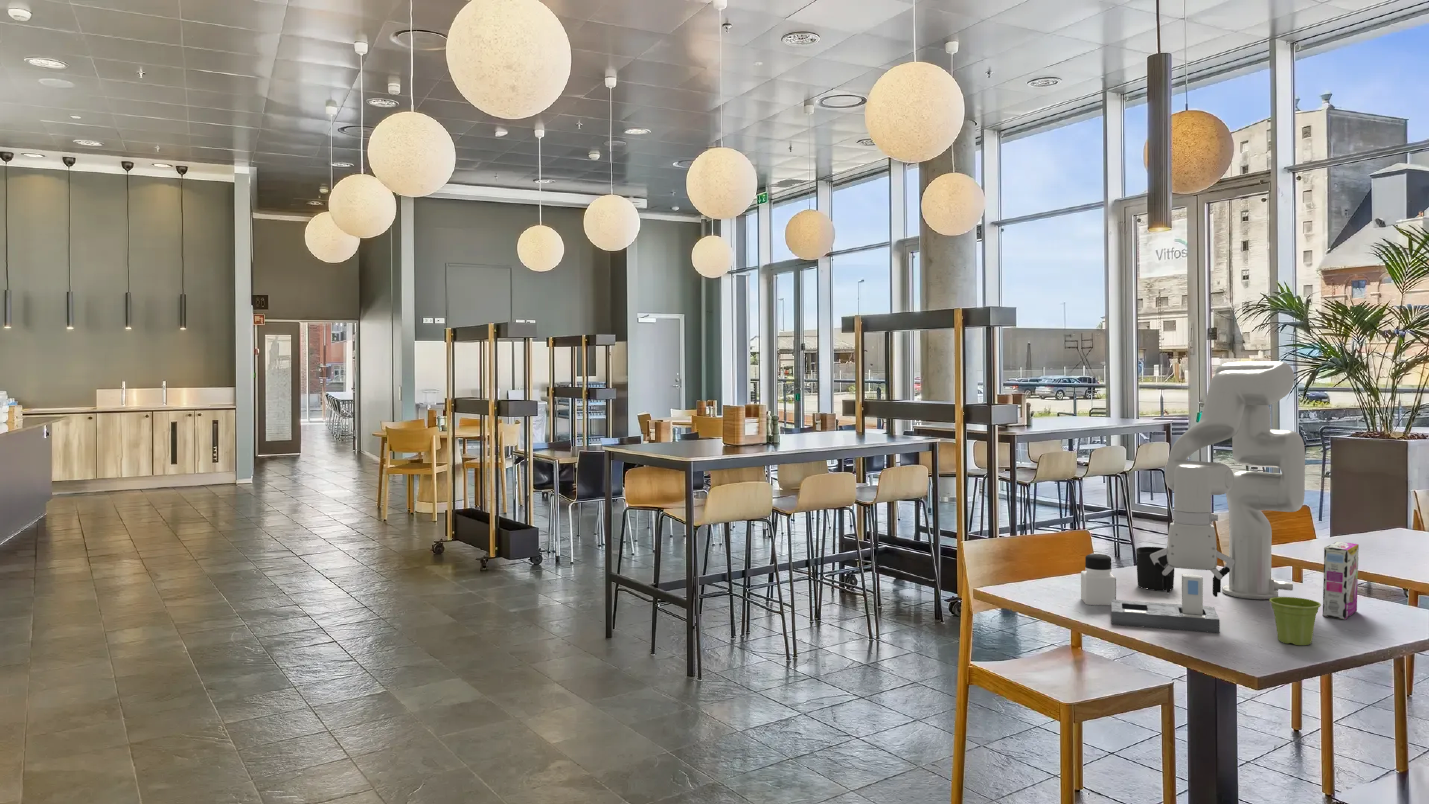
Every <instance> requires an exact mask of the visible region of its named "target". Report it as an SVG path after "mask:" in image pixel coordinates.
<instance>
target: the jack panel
mask: <svg viewBox="0 0 1429 804" xmlns="http://www.w3.org/2000/svg"><path fill="white" fill-rule="evenodd" d="M1110 607H1111V610H1110V611H1111V613H1110V615H1111V625H1114V624H1117V626H1126V625H1127V626H1128V627H1138V626H1144V627H1143V628H1150V627H1152V628H1153V629H1164V630H1175V629H1176V630H1175V631H1187V630H1188V632H1198V633H1199V632H1203V633H1211V632H1216V633H1215V634H1220V624H1221V623H1220V621H1221V620H1220V618H1219V615H1218V613H1217V610H1216V608H1215V606H1209V605H1208V606H1205V605H1203V615H1198V614H1185V613H1182V603H1167V602H1166V603H1165V602H1152V601H1138V600H1125V599H1116V600H1113V599H1111V606H1110ZM1118 624H1120V625H1118ZM1152 628H1151V629H1152ZM1177 629H1178V630H1177ZM1179 629H1180V630H1179Z"/></svg>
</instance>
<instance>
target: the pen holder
mask: <svg viewBox="0 0 1429 804" xmlns="http://www.w3.org/2000/svg"><path fill="white" fill-rule="evenodd" d="M1162 549H1165V547H1161V546H1160V547H1159V546H1141V547H1139V546H1138V547H1136V550H1135V553H1136V554H1135V555H1136V556H1135V557H1136V577H1137V586H1138V587H1139V586H1140V587H1139V588H1141V587H1142V588H1141V589H1144V588H1148V589H1154V590H1153V591H1157V590H1166V589H1164V588H1163V574H1162V573H1161V572H1160V571H1159V570H1158V569H1157V568H1156V567H1155V565H1154V563H1153V561H1152V560H1151V558H1150V554H1152V553H1155V552H1157V551H1160V550H1162ZM1158 561H1159V563H1160V564H1161V565H1162V566H1163V567H1165V566H1166V565H1167V564H1168V562H1167V555H1164V556H1162V557H1159V558H1158ZM1169 574H1170V589H1171V590H1173V588H1174V584H1175V568H1174V569H1173V570H1172V571H1171V572H1170V573H1169ZM1148 589H1147V590H1148Z"/></svg>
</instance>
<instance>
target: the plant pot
mask: <svg viewBox="0 0 1429 804" xmlns="http://www.w3.org/2000/svg"><path fill="white" fill-rule="evenodd" d="M1268 601H1269V603H1270V604H1271V607H1272V610H1273V612H1274V613H1273V614H1274V621H1275V626H1276V634H1277V639H1278V641H1279V642H1281V643H1283V644H1293V645H1296V646H1309V645H1311V644H1312V642H1313V637H1314V630H1315V623H1316V618H1317V614H1318V613H1319V609H1320V608H1321V606H1322V604H1321V603H1320V602H1319V601H1316V600H1313V599H1307V598H1302V597H1295V596H1278V597H1274V598H1270V599H1268Z"/></svg>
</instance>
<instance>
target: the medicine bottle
mask: <svg viewBox="0 0 1429 804" xmlns="http://www.w3.org/2000/svg"><path fill="white" fill-rule="evenodd" d="M1084 564H1085V569H1084V570H1082V571H1080V599H1081V600H1082V601H1083V602H1084V604H1085V605H1086V606H1109V607H1111V599H1113V600H1117V577H1115V576H1114V575H1113V573H1112V557H1111V556H1110V555H1108V554H1104V553H1088V554H1087V555H1086V556H1085V562H1084Z"/></svg>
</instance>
